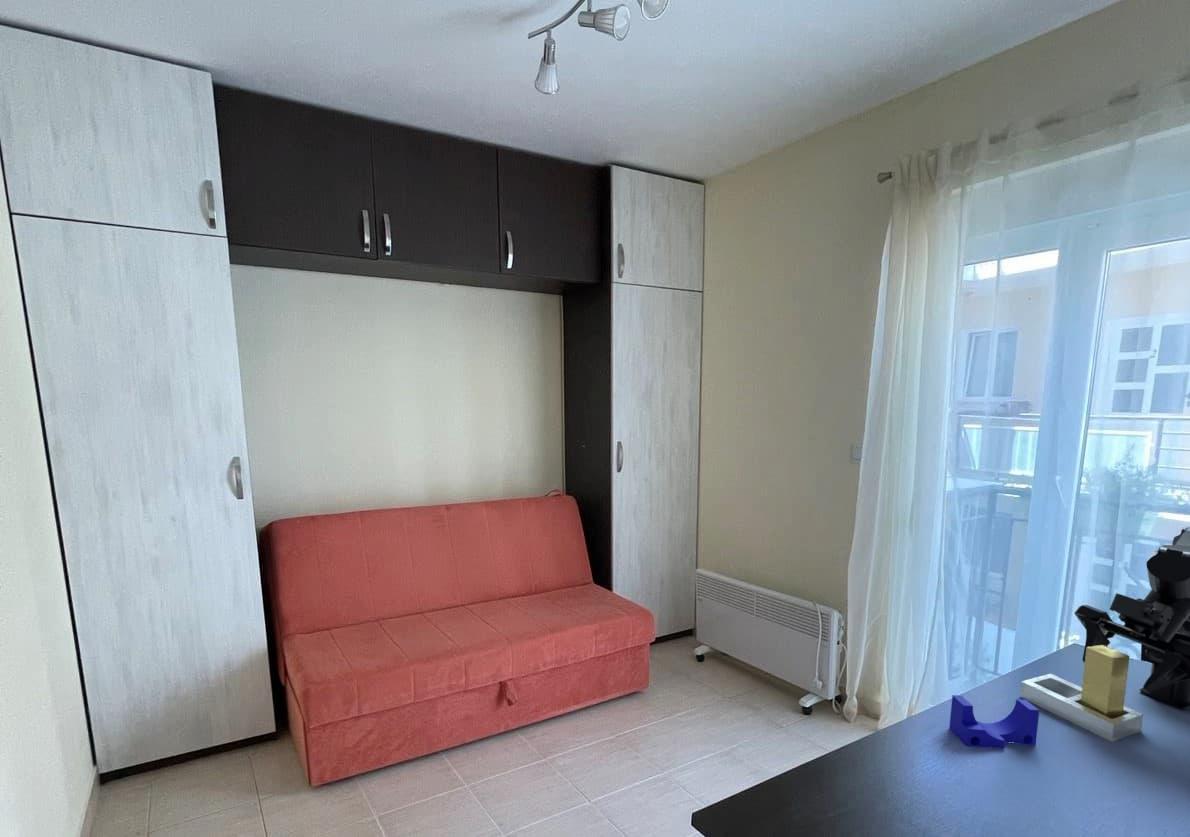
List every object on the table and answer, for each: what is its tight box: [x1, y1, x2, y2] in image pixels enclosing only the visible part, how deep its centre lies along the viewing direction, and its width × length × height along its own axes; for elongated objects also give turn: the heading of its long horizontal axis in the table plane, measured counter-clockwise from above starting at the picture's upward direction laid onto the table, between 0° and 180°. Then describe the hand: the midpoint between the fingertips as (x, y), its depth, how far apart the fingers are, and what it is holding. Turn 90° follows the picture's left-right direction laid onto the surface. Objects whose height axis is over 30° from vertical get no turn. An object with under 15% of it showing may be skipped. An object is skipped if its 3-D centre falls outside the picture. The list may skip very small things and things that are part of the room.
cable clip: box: [948, 694, 1040, 749], centre depth 92 cm, size 12×4×6 cm, turn 88°
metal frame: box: [1019, 673, 1144, 743], centre depth 101 cm, size 9×14×3 cm, turn 23°
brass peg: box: [1080, 645, 1130, 719], centre depth 98 cm, size 4×4×13 cm
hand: (1113, 675), depth 98 cm, fingers open, 9 cm apart
